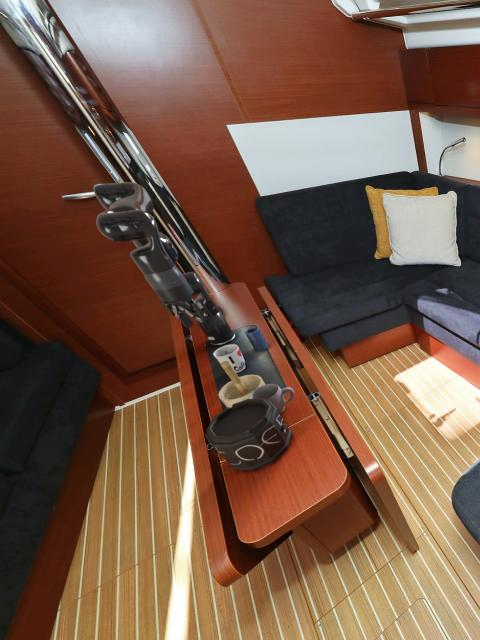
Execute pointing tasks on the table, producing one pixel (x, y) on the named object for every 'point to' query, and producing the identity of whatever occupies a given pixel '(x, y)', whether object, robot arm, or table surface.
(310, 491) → the table surface
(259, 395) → the mug
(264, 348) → the crock
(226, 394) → the bowl
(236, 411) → the dark octagonal canister
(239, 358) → the cup
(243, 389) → the stick
